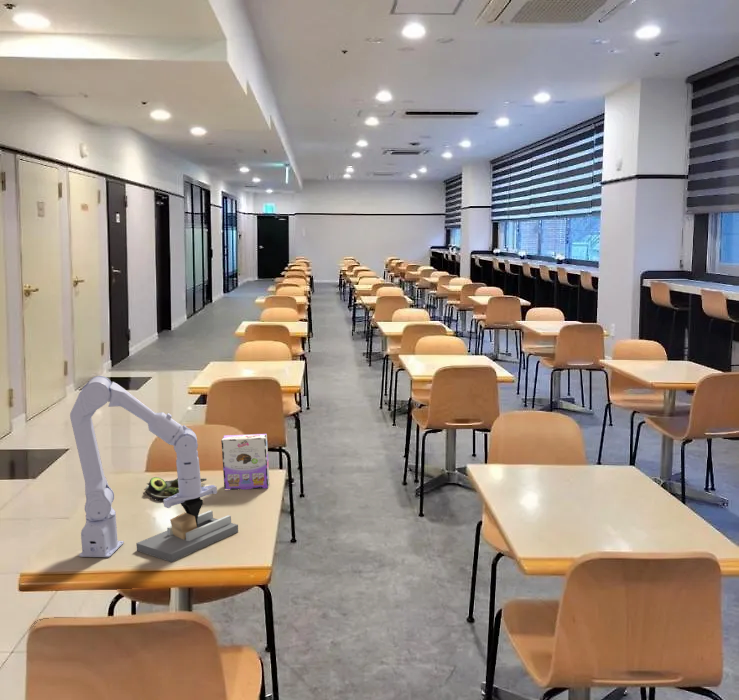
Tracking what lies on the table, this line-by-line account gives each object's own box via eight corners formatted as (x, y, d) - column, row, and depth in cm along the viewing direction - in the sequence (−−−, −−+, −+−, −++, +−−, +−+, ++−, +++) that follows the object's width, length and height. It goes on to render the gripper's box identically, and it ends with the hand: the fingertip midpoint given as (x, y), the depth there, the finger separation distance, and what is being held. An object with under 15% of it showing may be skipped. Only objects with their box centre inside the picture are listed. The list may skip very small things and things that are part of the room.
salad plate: (196, 478, 261) (195, 464, 261) (220, 491, 247) (219, 477, 246) (138, 490, 250) (137, 476, 249) (160, 505, 236) (159, 490, 235)
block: (188, 527, 209) (184, 512, 208) (198, 531, 206) (194, 516, 205) (173, 535, 206) (170, 519, 205) (183, 539, 203) (180, 523, 202)
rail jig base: (204, 522, 220) (203, 508, 219) (238, 531, 213) (237, 517, 212) (136, 550, 202) (135, 535, 201) (171, 561, 194) (170, 546, 194)
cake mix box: (269, 483, 253) (267, 432, 251) (268, 489, 247) (265, 437, 245) (226, 484, 253) (223, 434, 250) (223, 490, 247) (220, 439, 244)
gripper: (205, 466, 213) (209, 514, 215) (155, 480, 203) (160, 530, 206) (219, 471, 208) (223, 521, 210) (169, 486, 198) (174, 537, 201)
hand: (193, 526), depth 208 cm, fingers closed, pressing on block
